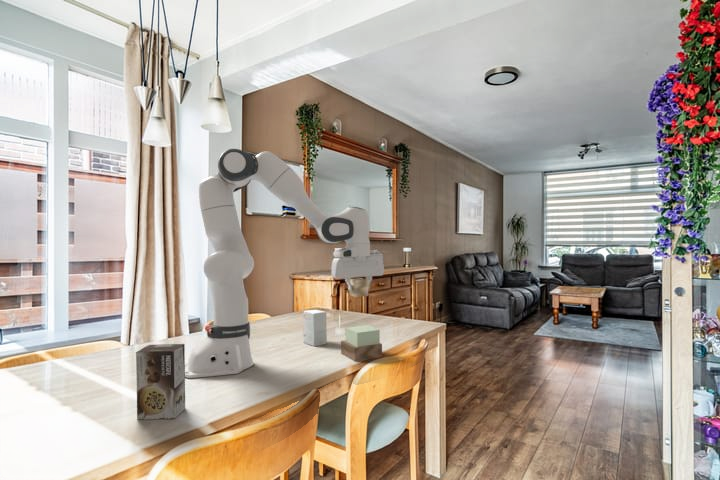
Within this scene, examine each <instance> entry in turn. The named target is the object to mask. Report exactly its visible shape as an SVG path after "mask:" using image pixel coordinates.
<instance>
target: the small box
mask: <svg viewBox="0 0 720 480" xmlns="http://www.w3.org/2000/svg"><path fill="white" fill-rule="evenodd" d="M302 323H303V327H302V328H303V330H302V331H303V343H304V344H307V345H310V346H312V347H317V346H321V345H326V344H327V343H328V342H327V341H328V340H327V337H328V336H327V334H328V333H327V312H326V311H323V310H319V309H311V310H310V309H309V310H303V321H302Z"/></svg>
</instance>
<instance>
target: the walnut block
mask: <svg viewBox="0 0 720 480" xmlns="http://www.w3.org/2000/svg"><path fill="white" fill-rule="evenodd" d="M340 354H341V355H343V356H345V357H346V358H348V359H350V360H352V362H360V361H365V360H367V361H368V360H371V359H373V360H374V359H379V358H383V343H381V342H380V344H375V345H369V346H362V347H356V346H354V345H352V344H350V343H348V342H346V339H345V340H340Z"/></svg>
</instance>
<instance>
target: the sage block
mask: <svg viewBox="0 0 720 480" xmlns="http://www.w3.org/2000/svg"><path fill="white" fill-rule="evenodd" d="M380 335H381V334H380V329H378V328H376V327H373V326H370V325H367V324H366V325H358V326H349V327H346V328H345V340H346V342H348V343H350V344H352V345H354V346H356V347H362V346H369V345H375V344H380V343H381V341H380V337H381V336H380Z"/></svg>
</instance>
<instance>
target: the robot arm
mask: <svg viewBox="0 0 720 480" xmlns="http://www.w3.org/2000/svg"><path fill="white" fill-rule="evenodd" d="M217 168H218V172H217V173H216V174H215V175H213V176H208V177H205V178H204V179H202V180H201V182H200V183H199V186H198V200H199V206H200V212H201V218H202V221H203V226H204V230H205V235H206V237H207V238H208V240H209V241H210V242H211V245H212V247H213V249H214V252H213V253H211V254H210V255H209V256H208V257H207V258H206V259H205V261H204V263H203V273H204V275H205V277H206V278H207V280H208V282H209V286H210V293H211V295H212V301H213V302H212V303H213V324H211V325H210V324H206V325H205V326H204V330H205V332H206V334H207V335H206V337H205V338H204V339H203V340H201V341H200V342H199V343H198V344H196V345H195V346H194V347H193V348H192V349H191V350H190V353H189V355H188V361H187V363H185V379H186V378H187V379H195V378H196V379H197V378H206V377H215V376H226V375H236V374H239V373H241V372H243V371H245V370H246V369H249V368H251V367H252V366H253V365H254V360H253V357H252V351H251V346H250V345H251V344H250V337H251V325H250V324H251V323H250V321H249V298H248V296H247V294H246V293H247V292H246V289H245V285H244V279H246V278H248V276H249V275H250V274H252V271H253V269H254V267H255V259H254V256H252V254H251V253H250V250H249V247H248V244H247V242H246V239H245V236H244V234H243V232H242V229H241V225H240V220H239V217H238V212H237V209H236V208H237V207H236V203H235V198H234V193H235V192H238V191H239V190H241V189H244V188H246V187H247V186H248V185H249V184H251V181H256V182H259V183H260V184H262V185H263V186H264V187H265V188H266V189H267V190H268V191H269V192H270V193H272V194H273V195H274V196H275V197H276V198H278V199H279V200H280V201H282V202H283V203H285V204H286V205H288V206H290V207H291V208H293V209H295V210H296V211H297V212H298V213H299V214H301V216H302V217H303V218H305V220H307V221H308V223H310V224H311V225H312V227H313V228H314V230H315V232H316V235H317V236H318V239H319V240H320V241H321V242H322V243H325V244H326V245H334V244H338V243H340V242H342V241H344V242H345V247H343V248H340V249H337V250H335V251H333V257H334V258H333V259H332V261H331V277H333V279H344V281H345V283H346V284H347V289H348V291H350V290H354V285H351V283H350V281H351V279H353V278H363V277H365V279H368V290H369V289H370V284H371V282H372V280H373V277H380V276H383V275H384V273H385V267H384V255H383V253H382V252H381V251H379V250H371V241H370V235H369V234H370V218H369V214H368V211H367V210H366V209H365V208H363V207H357V206H348V207H346V209H344V210H343V211H341V212H339V213H337V214H334V215H331V216H328V215H326V214H325V213H324V212H323V211H322V210H321V209H320V208H319V207H318V206H317V205H316V204H315V203H314V202H313V201H312V199H311V198H310V197H309V195H308V193H307V191H306V186H305V184H304V182H303V180H302V179H301V177H300V176H299V175H298V173H297V172H296V171H295V170H294V169H292V167H291V166H290V165H289V164H288V163H286V162H285V161H284V160H282V159H281V158H280V157H278V156H277V155H276V154H275V153H273V152H271V151H268V150H267V151H261V152H260V153H257V154H256V155H255V154H254V153H252V152H249V151H245V150H242V149H239V148H230V149H227V150H225V151H223V152H222V153H221V155H220V156H219V158H218V161H217Z"/></svg>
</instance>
